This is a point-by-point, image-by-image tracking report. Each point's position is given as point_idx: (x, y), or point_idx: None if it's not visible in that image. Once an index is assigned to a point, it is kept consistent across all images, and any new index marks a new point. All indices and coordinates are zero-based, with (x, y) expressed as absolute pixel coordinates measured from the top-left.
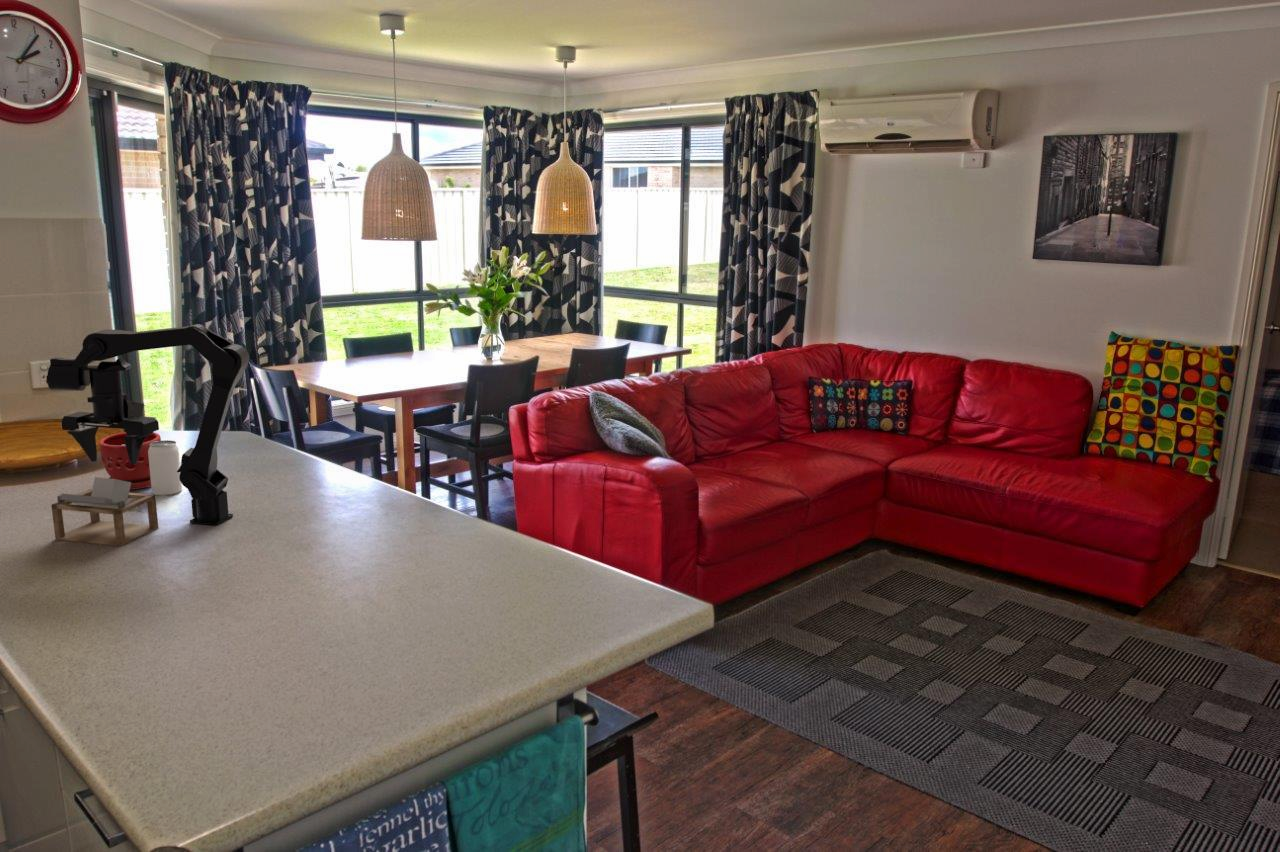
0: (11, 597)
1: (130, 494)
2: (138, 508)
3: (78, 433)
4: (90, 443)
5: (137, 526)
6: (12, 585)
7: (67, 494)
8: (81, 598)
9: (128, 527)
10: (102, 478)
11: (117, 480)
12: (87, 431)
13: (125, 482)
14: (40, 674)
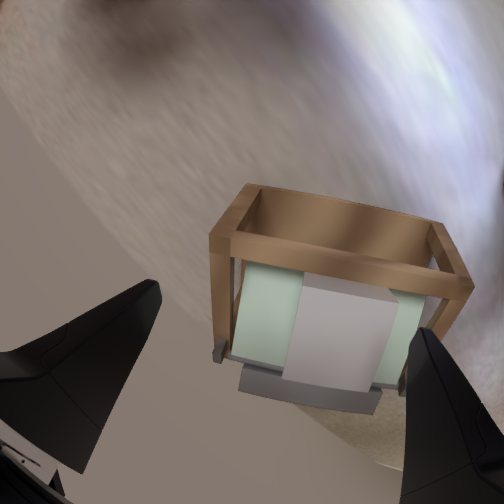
0: (324, 426)
1: (393, 286)
2: (424, 300)
3: (83, 470)
4: (96, 380)
5: (392, 226)
6: (305, 411)
7: (257, 395)
8: (395, 427)
9: (372, 235)
10: (315, 383)
11: (373, 377)
12: (50, 445)
13: (388, 334)
14: (401, 466)
